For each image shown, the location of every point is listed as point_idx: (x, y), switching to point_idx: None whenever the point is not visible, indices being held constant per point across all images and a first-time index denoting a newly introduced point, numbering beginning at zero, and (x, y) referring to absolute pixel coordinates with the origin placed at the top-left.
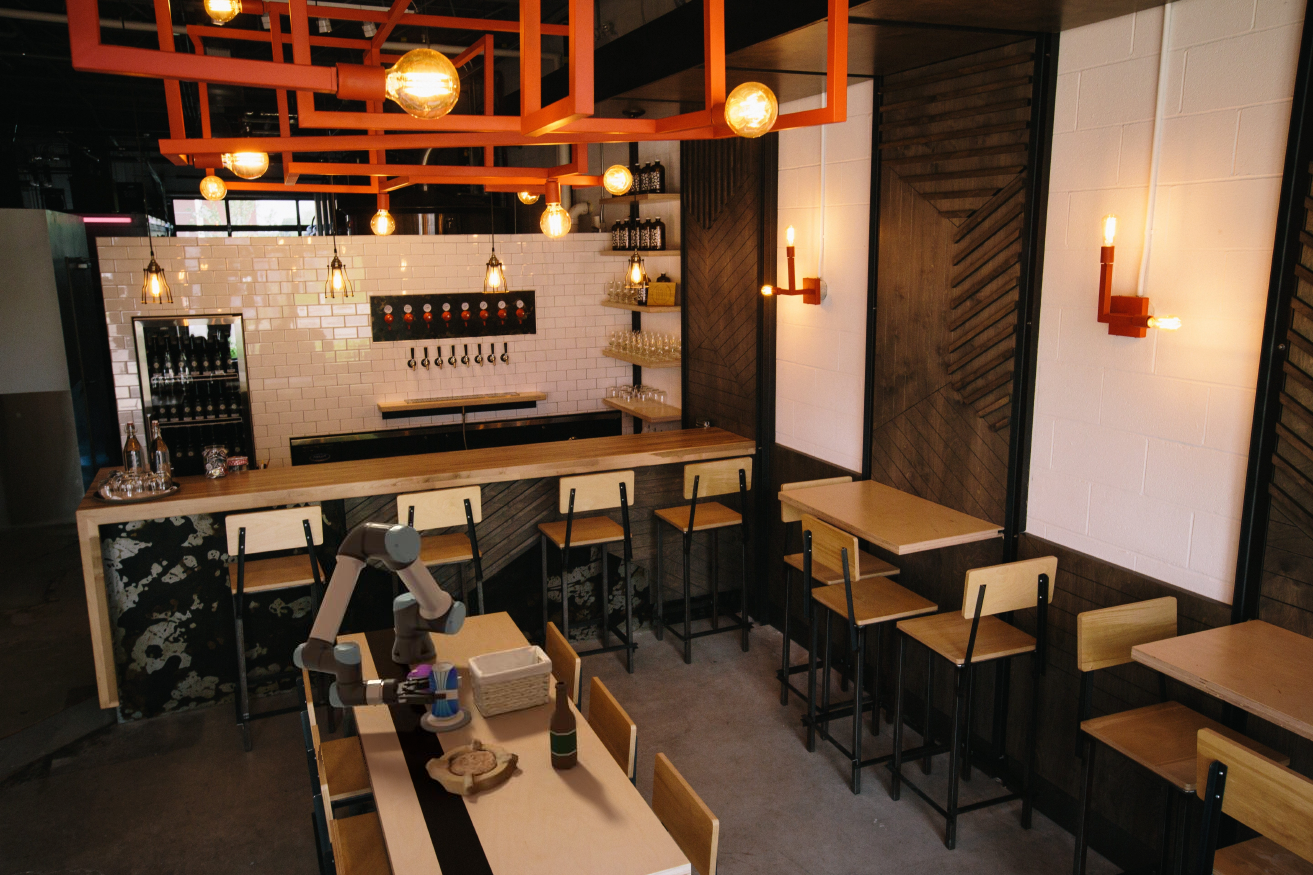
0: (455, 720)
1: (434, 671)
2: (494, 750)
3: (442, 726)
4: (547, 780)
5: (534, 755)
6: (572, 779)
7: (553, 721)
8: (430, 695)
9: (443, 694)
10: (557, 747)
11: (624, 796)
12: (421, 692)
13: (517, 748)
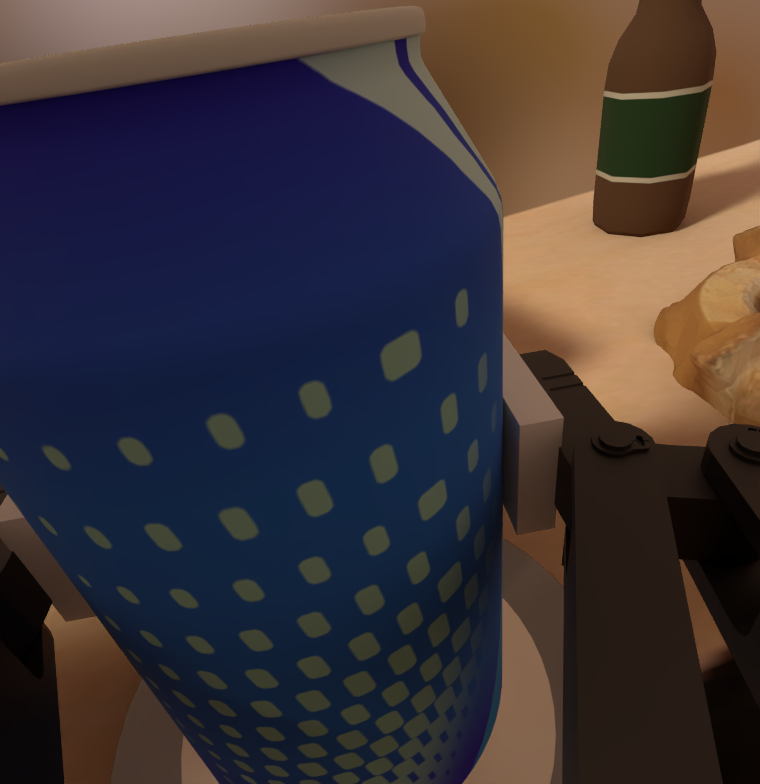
0: None
1: (384, 63)
2: (744, 291)
3: (548, 662)
4: (756, 222)
5: (632, 266)
6: (709, 202)
7: (708, 39)
8: (719, 444)
9: (546, 367)
10: (701, 137)
11: (712, 159)
12: (692, 673)
13: (609, 302)
